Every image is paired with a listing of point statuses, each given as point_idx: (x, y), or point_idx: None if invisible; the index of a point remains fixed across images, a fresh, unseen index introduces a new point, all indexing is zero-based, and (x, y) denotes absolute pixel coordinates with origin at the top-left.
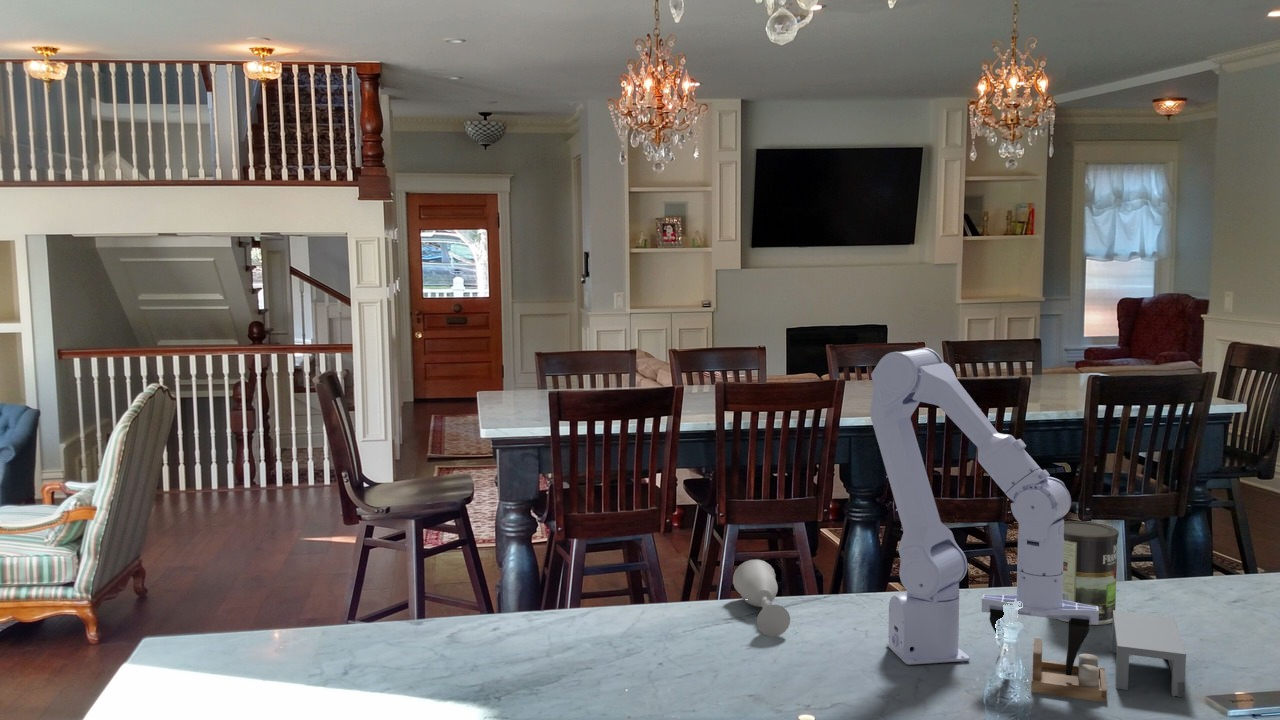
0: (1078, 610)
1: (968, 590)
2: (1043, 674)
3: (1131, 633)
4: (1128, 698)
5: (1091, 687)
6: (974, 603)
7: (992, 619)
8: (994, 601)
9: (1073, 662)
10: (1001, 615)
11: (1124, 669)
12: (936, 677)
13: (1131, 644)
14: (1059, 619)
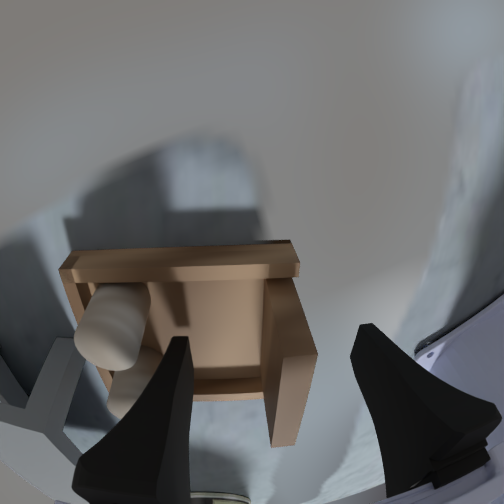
0: None
1: (338, 498)
2: (255, 351)
3: (63, 475)
4: (39, 294)
5: (101, 281)
6: (339, 487)
7: (498, 422)
8: (499, 491)
9: (158, 367)
10: (457, 460)
11: (45, 376)
12: (497, 245)
13: (26, 439)
14: (233, 494)
